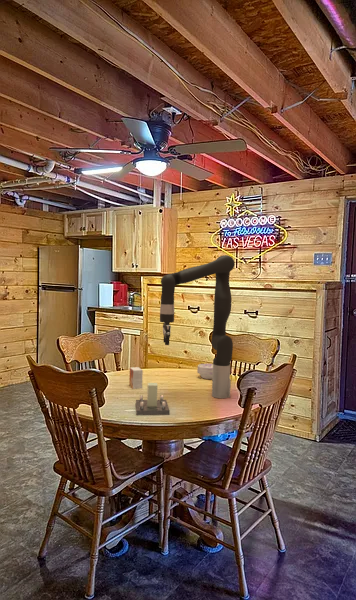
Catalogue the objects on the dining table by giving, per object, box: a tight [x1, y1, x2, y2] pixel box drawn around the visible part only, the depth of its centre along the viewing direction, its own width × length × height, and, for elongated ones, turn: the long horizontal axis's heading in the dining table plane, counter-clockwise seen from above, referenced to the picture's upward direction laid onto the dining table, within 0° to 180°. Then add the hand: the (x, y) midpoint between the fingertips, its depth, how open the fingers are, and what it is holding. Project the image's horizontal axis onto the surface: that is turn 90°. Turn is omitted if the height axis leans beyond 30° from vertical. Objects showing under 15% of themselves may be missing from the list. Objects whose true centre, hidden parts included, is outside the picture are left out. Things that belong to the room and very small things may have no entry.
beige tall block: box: [146, 382, 158, 407], centre depth 199 cm, size 4×5×10 cm
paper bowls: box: [196, 363, 213, 380], centre depth 266 cm, size 15×15×8 cm
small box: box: [128, 366, 144, 390], centre depth 239 cm, size 8×6×10 cm
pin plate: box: [135, 394, 170, 416], centre depth 199 cm, size 15×17×5 cm
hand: (166, 343), depth 220 cm, fingers open, 8 cm apart
